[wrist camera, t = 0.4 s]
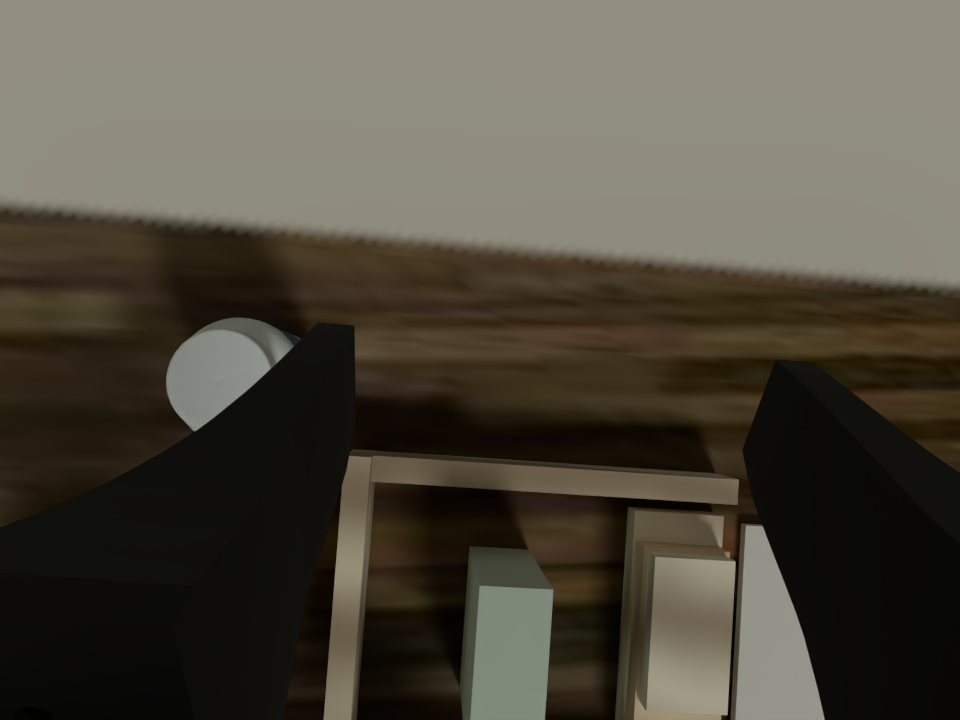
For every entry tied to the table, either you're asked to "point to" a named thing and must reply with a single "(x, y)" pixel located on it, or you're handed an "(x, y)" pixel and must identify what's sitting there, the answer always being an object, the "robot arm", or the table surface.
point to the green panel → (505, 636)
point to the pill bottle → (222, 366)
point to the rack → (646, 585)
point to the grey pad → (768, 641)
